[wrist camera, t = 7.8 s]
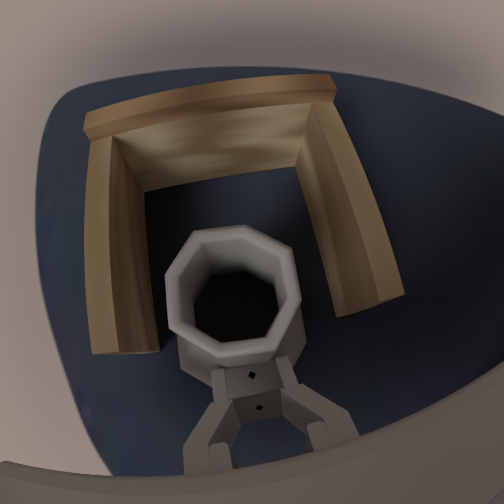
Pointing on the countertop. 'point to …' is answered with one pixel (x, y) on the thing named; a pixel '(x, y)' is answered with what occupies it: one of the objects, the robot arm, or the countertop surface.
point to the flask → (233, 300)
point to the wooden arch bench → (219, 165)
